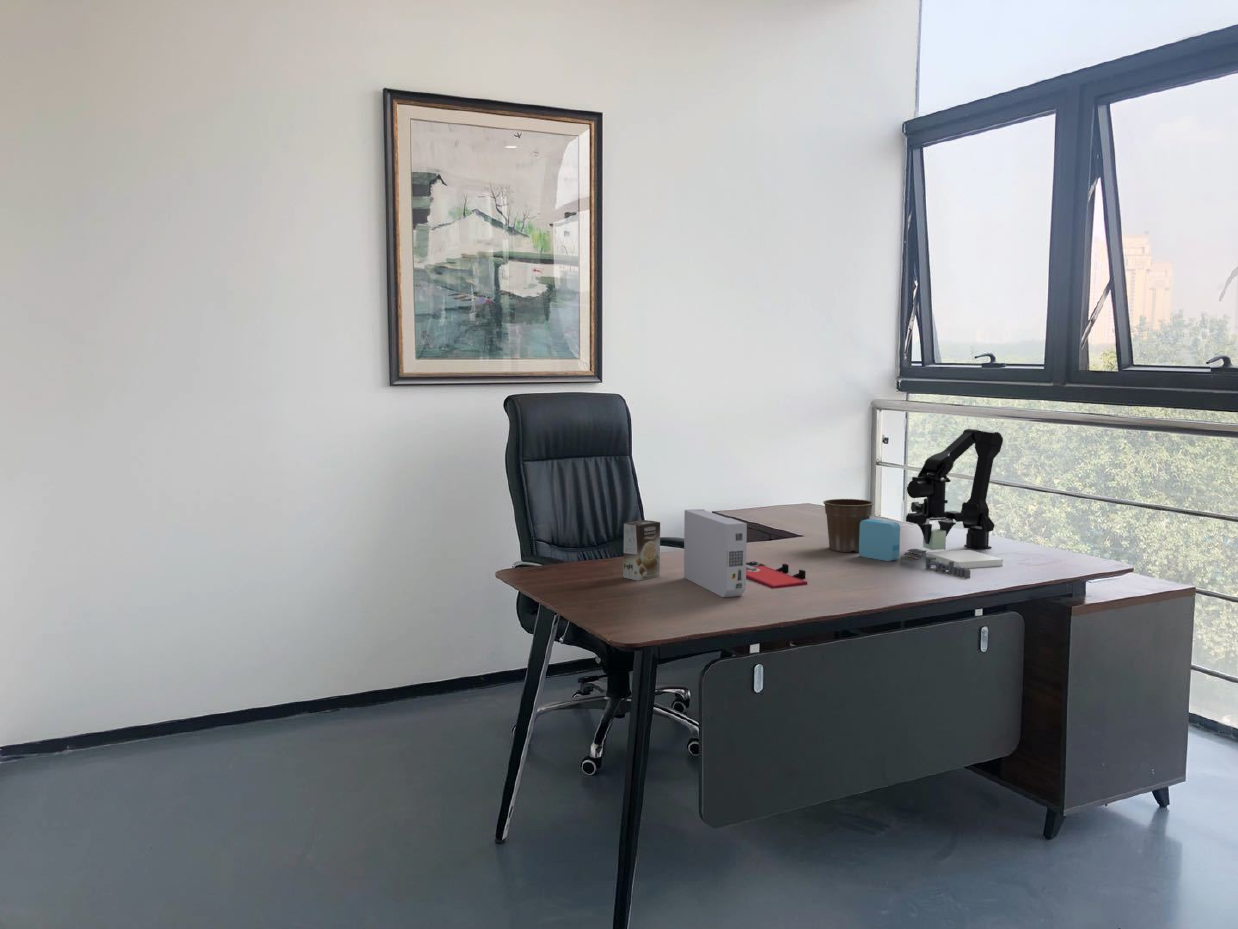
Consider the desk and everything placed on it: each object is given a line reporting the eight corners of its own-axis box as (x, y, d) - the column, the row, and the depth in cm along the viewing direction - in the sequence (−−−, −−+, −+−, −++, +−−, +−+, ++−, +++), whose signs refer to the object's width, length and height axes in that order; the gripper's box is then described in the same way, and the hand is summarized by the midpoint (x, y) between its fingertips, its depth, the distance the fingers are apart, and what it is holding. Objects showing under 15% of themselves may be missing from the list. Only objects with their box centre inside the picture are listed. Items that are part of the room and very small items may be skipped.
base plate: (968, 555, 299) (968, 549, 298) (1002, 565, 283) (1002, 559, 283) (926, 558, 294) (926, 552, 294) (958, 568, 279) (958, 562, 279)
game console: (702, 576, 268) (702, 508, 266) (746, 598, 243) (747, 523, 241) (683, 578, 266) (684, 509, 264) (726, 599, 241) (727, 524, 239)
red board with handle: (759, 563, 287) (717, 568, 281) (759, 554, 287) (717, 559, 281) (818, 585, 260) (773, 591, 254) (818, 575, 259) (773, 581, 253)
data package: (899, 560, 292) (900, 522, 291) (891, 562, 289) (893, 524, 288) (866, 554, 301) (867, 518, 299) (858, 556, 298) (859, 519, 296)
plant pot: (815, 550, 307) (816, 502, 305) (831, 543, 320) (832, 497, 319) (863, 556, 298) (865, 506, 297) (878, 548, 312) (879, 500, 310)
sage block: (936, 546, 306) (936, 528, 305) (945, 549, 301) (946, 531, 300) (923, 547, 304) (923, 529, 304) (932, 550, 300) (932, 531, 299)
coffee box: (638, 581, 262) (638, 525, 260) (622, 577, 267) (622, 522, 265) (660, 576, 268) (660, 521, 267) (644, 573, 273) (644, 519, 271)
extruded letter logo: (899, 563, 288) (900, 545, 287) (903, 563, 288) (904, 545, 288) (966, 579, 266) (967, 560, 266) (970, 578, 267) (970, 559, 266)
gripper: (944, 492, 311) (943, 537, 313) (896, 494, 306) (895, 540, 308) (966, 496, 301) (964, 543, 302) (916, 498, 295) (915, 546, 297)
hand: (934, 543), depth 303 cm, fingers closed on sage block, 5 cm apart
